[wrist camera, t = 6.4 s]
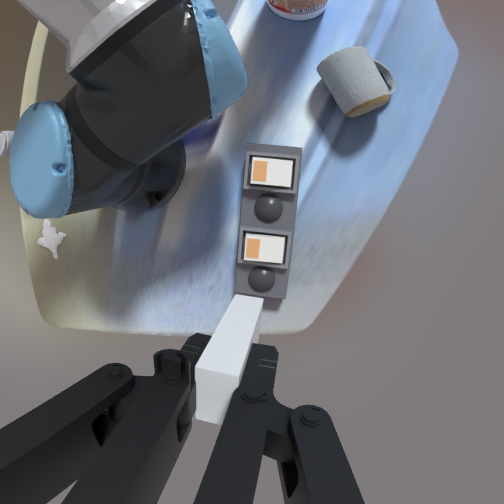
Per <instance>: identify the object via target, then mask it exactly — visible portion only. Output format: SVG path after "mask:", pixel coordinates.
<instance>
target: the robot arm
mask: <svg viewBox="0 0 504 504" xmlns="http://www.w3.org/2000/svg"><path fill="white" fill-rule="evenodd" d="M18 1H19V2H20V3H21V4H22V5H23V6H24V7H25V8H26V9H27V10H28V11H30V12H31V13H32V14H33V15H34V16H35V17H36V18H37V19H38V20H39V21H40V22H41V23H43V24H44V25H45V26H46V27H47V28H48V29H49V30H50V31H51V32H52V33H53V34H54V35H56V36H57V37H58V38H59V39H60V40H61V41H62V42H63V43H64V44H65V45H66V46H67V66H66V71H67V72H68V73H69V74H70V75H71V76H72V77H73V78H74V79H76V80H77V81H78V82H77V83H76V84H75V85H74V86H73V87H72V89H70V90H69V92H67V94H66V95H65V96H64V97H63V98H62V99H61V100H60V101H58V102H55V101H53V100H50V99H48V100H45V101H42V102H36V103H34V104H32V105H31V106H30V107H29V108H28V109H27V110H26V111H25V112H24V113H23V115H22V116H21V118H20V120H19V122H18V124H17V126H16V128H15V131H14V134H13V138H12V142H11V148H10V159H9V160H10V161H9V168H10V169H9V170H10V179H11V184H12V188H13V191H14V194H15V196H16V199H17V201H18V203H19V205H20V206H21V207H22V209H23V210H24V211H25V212H26V213H28V214H30V215H31V216H33V217H34V218H39V219H43V218H61V217H62V216H64V215H69V214H73V213H78V212H83V211H87V210H92V209H97V208H102V207H107V206H113V207H115V208H118V209H120V210H123V211H126V212H131V213H141V212H146V211H150V210H154V209H156V208H158V207H160V206H162V205H164V204H165V203H166V202H167V201H169V200H170V199H171V197H172V196H173V195H174V194H175V192H176V191H177V189H178V188H179V186H180V184H181V181H182V179H183V176H184V171H185V165H186V156H185V149H184V145H183V142H182V139H181V138H182V137H183V136H185V135H186V134H188V133H189V132H191V131H192V130H194V129H195V128H197V127H198V126H200V125H202V124H203V123H205V122H206V121H208V120H209V119H211V120H213V119H215V118H216V117H217V114H218V113H220V112H221V111H223V110H224V109H226V108H227V107H229V106H231V105H232V104H234V103H235V102H237V101H238V100H240V99H241V98H242V97H243V96H244V95H245V93H246V91H247V88H248V78H247V74H246V70H245V67H244V64H243V62H242V59H241V57H240V54H239V52H238V49H237V47H236V45H235V43H234V41H233V39H232V36H231V34H230V32H229V30H228V29H227V27H226V25H225V23H224V21H223V20H222V18H220V17H219V14H218V12H217V11H216V9H215V7H214V5H213V3H212V2H211V1H210V0H18ZM263 301H264V299H263V298H257V297H251V296H244V295H238V294H236V295H235V296H234V298H233V300H232V302H231V303H230V305H229V307H228V309H227V311H226V312H225V314H224V316H223V318H222V320H221V321H220V323H219V325H218V327H217V329H216V330H215V332H214V334H213V336H209V335H205V334H200V333H196V334H194V335H192V336H191V337H189V338H188V340H187V341H186V342H185V344H184V345H183V347H182V348H181V350H174V349H166V350H161V351H158V352H157V353H155V354H154V356H153V357H154V367H155V374H154V375H153V376H135V375H133V373H132V371H131V369H130V368H129V367H128V366H126V365H124V364H121V363H111V364H107V365H105V366H103V367H101V368H100V369H98V370H96V371H95V372H93V373H91V374H90V375H88V376H87V377H85V378H83V379H82V380H80V381H79V382H77V383H75V384H74V385H72V386H70V387H69V388H67V389H66V390H64V391H62V392H61V393H59V394H58V395H56V396H54V397H53V398H51V399H49V400H48V401H46V402H44V403H43V404H41V405H39V406H38V407H36V408H35V409H33V410H32V411H30V412H28V413H26V414H25V415H23V416H21V417H20V418H18V419H16V420H15V421H13V422H11V423H10V424H8V425H7V426H5V427H3V428H1V429H0V504H46V503H48V502H49V501H50V500H52V499H53V498H54V497H55V496H57V495H58V494H59V493H61V492H62V491H63V490H65V489H66V488H67V487H69V486H70V485H71V484H72V483H74V482H75V481H76V480H77V479H78V481H77V482H76V484H75V485H74V486H73V488H72V489H71V491H70V492H69V493H68V495H67V496H66V497H65V499H64V500H63V502H62V503H61V504H157V502H158V500H159V497H160V495H161V493H162V491H163V489H164V487H165V484H166V483H167V480H168V478H169V476H170V474H171V472H172V469H173V467H174V465H175V463H176V461H177V459H178V457H179V454H180V452H181V450H182V448H183V445H184V443H185V441H186V439H187V437H188V434H189V432H190V430H191V427H192V417H193V415H194V413H195V412H196V419H199V420H203V421H207V422H211V423H216V424H220V425H222V426H221V429H220V432H219V435H218V438H217V440H216V443H215V446H214V449H213V452H212V454H211V457H210V460H209V463H208V465H207V468H206V471H205V474H204V476H203V479H202V482H201V485H200V487H199V490H198V493H197V495H196V498H195V501H194V503H193V504H253V499H254V495H255V489H256V485H257V480H258V475H259V470H260V465H261V459H262V455H266V456H268V457H270V458H272V459H275V460H277V465H278V470H279V476H280V481H281V486H282V492H283V497H284V502H285V504H365V503H364V501H363V498H362V495H361V493H360V490H359V488H358V485H357V483H356V480H355V478H354V475H353V473H352V470H351V468H350V465H349V462H348V460H347V458H346V455H345V452H344V450H343V447H342V445H341V442H340V440H339V438H338V435H337V432H336V430H335V427H334V425H333V423H332V420H331V417H330V416H329V414H328V413H327V412H326V411H325V410H324V409H322V408H320V407H317V406H314V405H303V406H299V407H297V408H296V409H294V410H293V409H291V408H288V407H286V406H284V405H282V404H280V403H279V402H278V401H277V400H276V399H275V397H274V395H273V388H274V381H275V374H276V368H277V361H278V354H279V353H278V352H277V350H276V348H275V346H269V345H263V344H257V343H258V337H259V330H260V323H261V316H262V308H263ZM105 410H106V411H105Z"/></svg>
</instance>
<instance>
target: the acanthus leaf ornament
mask: <svg viewBox="0 0 504 504" xmlns="http://www.w3.org/2000/svg"><path fill="white" fill-rule="evenodd" d="M43 228H44V229H43V230H42V233H43V235H44V237H41V238H39V240H38V242H37V244H39V245H40V246H41V245H42V247H47V248H48V249H50V250H51V251H52V253H53V257H54V258H55V259H58V254H57V247H58V245H59V244H61V243H62V240H63V237H65V236H66V234H65V233H63V232H59V233H57V229H56V227H53V225H52V223H51V221H50V220H47V219H45V220H44V223H43Z"/></svg>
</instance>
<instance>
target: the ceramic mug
mask: <svg viewBox="0 0 504 504" xmlns="http://www.w3.org/2000/svg"><path fill="white" fill-rule="evenodd" d="M378 70H379V71H380V72H381V73H382V75H383V76H384V78H385V81H386V82H387V85H388V87H387V85H386V83H385V82H384V80H383V78H382V76H381V75H380V73H379V71H378ZM317 72H318V73H319V75H320V76H321V78H322V79H323V81H324V83H325V84H326V86H327V88H328V89H329V91H330V92H331V94H332V95H333V97H334V99H335V101H336V102H337V104H338V106H339V108H340V109H341V110H342V112H343V113H344V114H345V115H346V116H347V117H350V118H353V117H357V116H360V115H362V114H365V113H367V112H370V111H372V110H374V109H377V108H379V107H381V106H383V105H385V104H387V103H388V102H389V101H390V95H391V94H393V92H394V91H395V87H396V86H395V81H394V78H393V76H392V74H391V72H390V71H389V69H388V68H387V67H386V66H385V65H383V64H382V63H380V62H378V61H376V60H372V58H371V56H370V55H369V53H368V51H367V50H366V49H365V48H364V47H361V46H355V47H349V48H345V49H343V50H340V51H338V52H335V53H333V54H331V55H330V56H328V57H327V58H325V59H324V60H323V61H322V62H321V63H320V64H319V65H318V67H317Z"/></svg>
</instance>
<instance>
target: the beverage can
mask: <svg viewBox="0 0 504 504" xmlns="http://www.w3.org/2000/svg"><path fill="white" fill-rule="evenodd" d="M13 134H14V131H2V132H0V157H10V148H11V142H12V138H13Z"/></svg>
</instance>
